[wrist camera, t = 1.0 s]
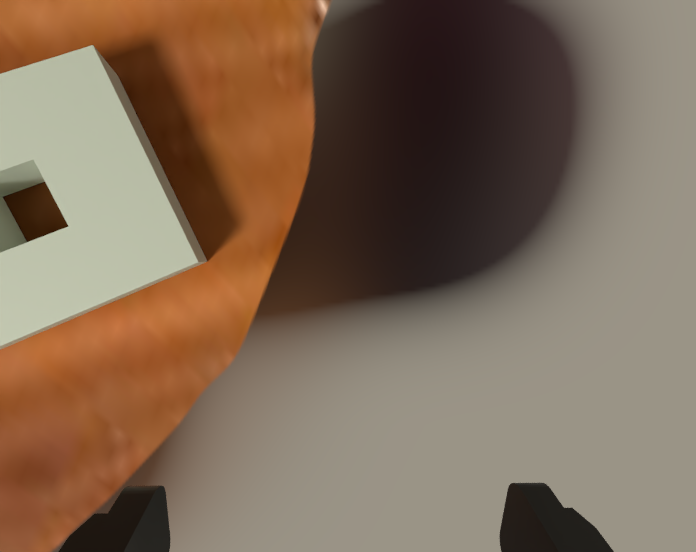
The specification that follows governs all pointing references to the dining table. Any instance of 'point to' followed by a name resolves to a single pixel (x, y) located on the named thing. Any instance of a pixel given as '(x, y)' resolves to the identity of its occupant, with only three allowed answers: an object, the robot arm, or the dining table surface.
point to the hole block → (82, 196)
